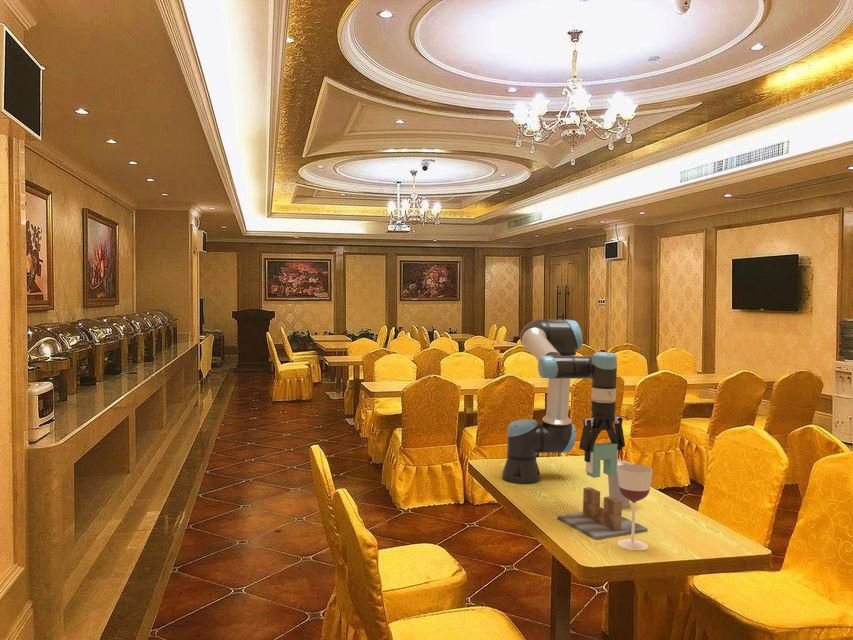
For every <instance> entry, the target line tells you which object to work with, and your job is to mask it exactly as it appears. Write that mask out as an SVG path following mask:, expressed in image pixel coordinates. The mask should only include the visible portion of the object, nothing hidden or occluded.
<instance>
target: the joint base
mask: <svg viewBox="0 0 853 640" xmlns="http://www.w3.org/2000/svg"><path fill="white" fill-rule="evenodd" d="M582 492H583V496H582V497H583V499H582V512H581V511H580V512H575V513H574V512H573V513H568V514H561V515H559V514H558V515H557V516H556V517H557V520H559V521H561V522H562V523H565V524H566V525H568V526H570V527H571V528H573V529H575V530H577V531H579V532H581V533H583V534H584V535H586V536H588V537H590V538H591V539H593V540H595V541H596V540H597V541H598V540H599V541H600V540H603V539H610V538H617V537H622V536H623V537H624V536H628V535H631V532H632V519H629V518H626V517H624V516H622V515H623V514H622V513H623V512H622V511H623V510H622V509H623V508H622V501H620V500H618V499H616V498H613V497H611V496H609V495H607V496H603V507H601V491H599V490H597V489H595V488H592V487H590V486H588V487H583V491H582ZM646 532H648V528H647V527H646V526H643V525H641V524H639V523H637V522H635V534H641V533H646Z"/></svg>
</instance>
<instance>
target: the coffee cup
mask: <svg viewBox="0 0 853 640" xmlns="http://www.w3.org/2000/svg"><path fill="white" fill-rule="evenodd" d="M624 464H632V463H631V462H628V461H626V460H618V466H619V465H624ZM607 483H608V496H611V497H613V498H616V499H618V500H620V501H622V509H627V508H629V507H630V500H629V499H627V498H625V497H624V496H623V495H622V494H621V492H620V488H619V483H618V470H617V474H616V475H613V476H609V475H607Z"/></svg>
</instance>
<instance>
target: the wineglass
mask: <svg viewBox="0 0 853 640" xmlns="http://www.w3.org/2000/svg"><path fill="white" fill-rule="evenodd" d="M653 471H654V470H653V468H651V467H650V466H647V465H642V464H633V463H631V464H624V465H619V466H618V483H619V488H620V492H621V494H622V495H623V496H624V497H625V498H627V499H629V502H630V501H631V502H632V503H631V505H632V506H631V521H632V532H631V534H630V535H631V536H630V537H631V539H630V538H627V539H620V540H618V541H617V544H618V546H619V547H621V548H623V549H626V550H629V551H630V550H631V551H645V550H647V549H648V548H649V545H648V544H647V543H645V542H644V541H641V540H637V539H635V534H636V533H635V523H636V504H637V502H639V501H641V500H644V499H645V498H646V497H648V495H649V494H650V490H651V485H652V481H653Z"/></svg>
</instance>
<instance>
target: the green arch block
mask: <svg viewBox="0 0 853 640" xmlns="http://www.w3.org/2000/svg"><path fill="white" fill-rule="evenodd" d="M591 452H593V473H590V472H587V471H586V475H587V476H589V477H591V478H601V460H602V462H603V463H602V464H603V471H602V472H603V474H605V475H606V476H608V475H609V476H613V475H616V474H617V444H614V443H611V441H608V442H607V441H606V442H595V444H594V446H593V448H592V451H591Z"/></svg>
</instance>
